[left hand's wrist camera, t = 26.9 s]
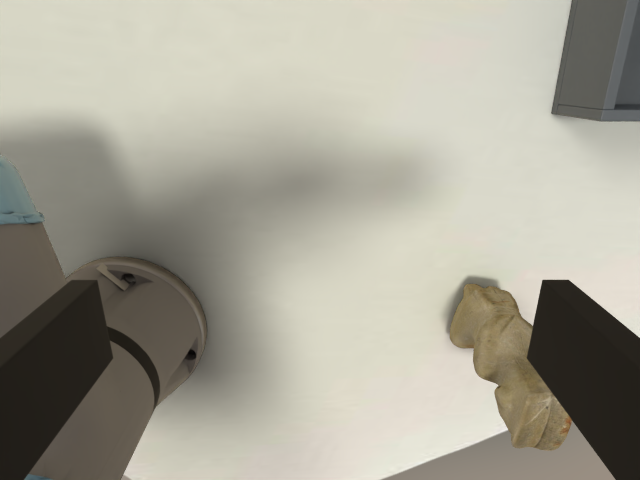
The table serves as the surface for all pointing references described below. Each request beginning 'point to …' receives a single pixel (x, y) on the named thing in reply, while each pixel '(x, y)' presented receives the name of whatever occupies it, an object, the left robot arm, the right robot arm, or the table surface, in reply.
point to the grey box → (601, 62)
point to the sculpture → (509, 366)
